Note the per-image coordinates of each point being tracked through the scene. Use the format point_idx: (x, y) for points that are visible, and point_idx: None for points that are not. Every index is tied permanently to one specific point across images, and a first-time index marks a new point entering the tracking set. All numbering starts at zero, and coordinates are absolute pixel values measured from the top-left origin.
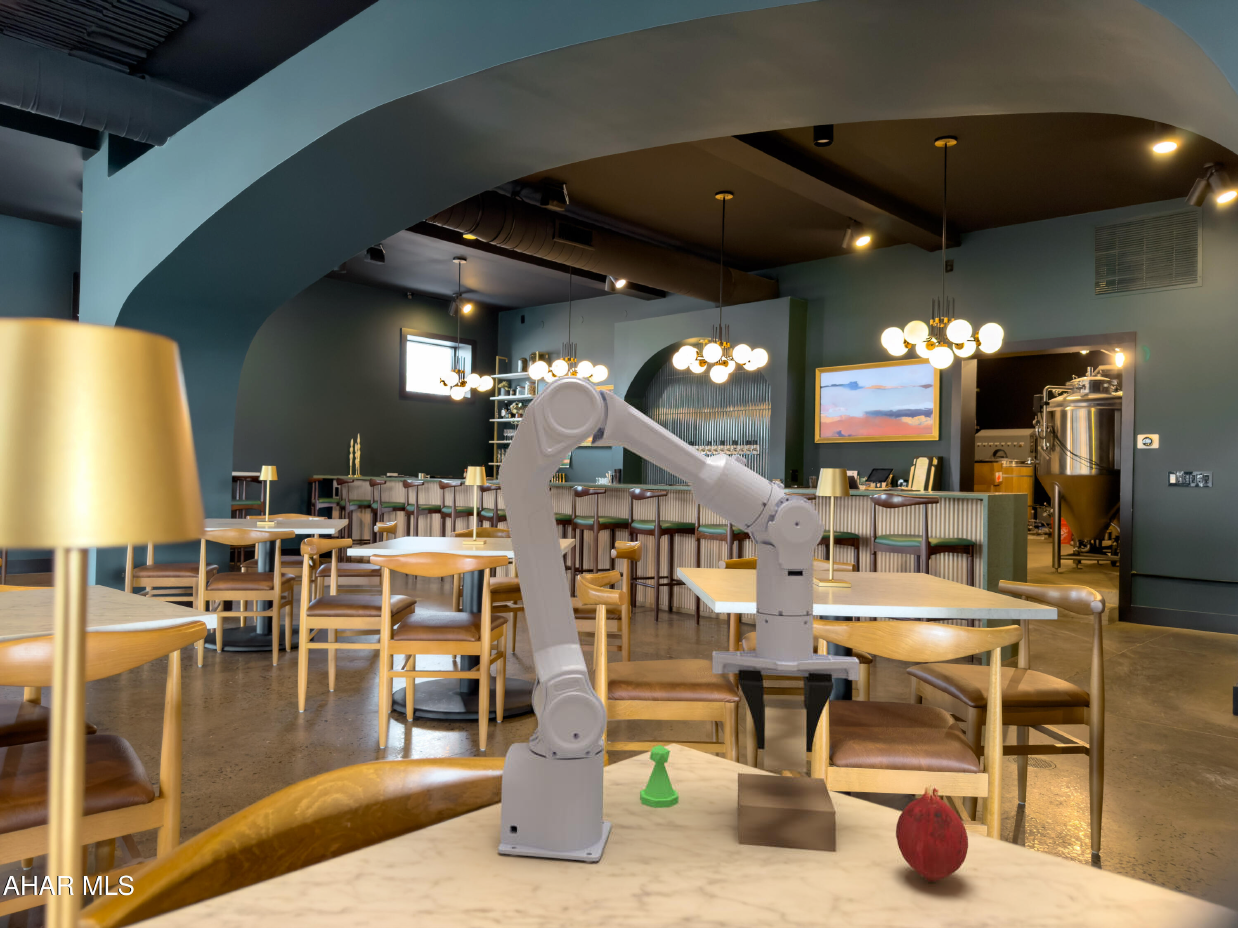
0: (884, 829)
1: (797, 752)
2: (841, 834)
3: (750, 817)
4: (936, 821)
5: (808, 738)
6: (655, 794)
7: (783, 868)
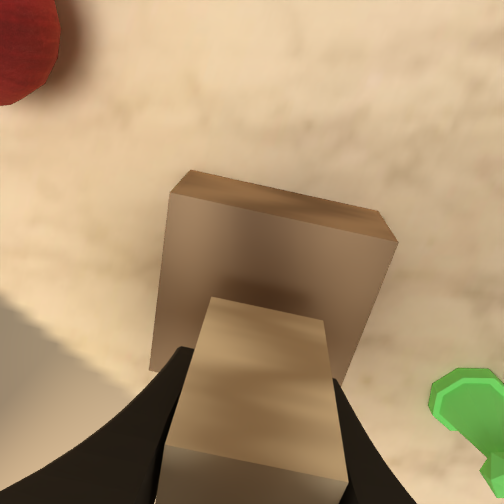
0: (70, 258)
1: (228, 332)
2: (158, 242)
3: (366, 225)
4: None
5: (180, 369)
6: (492, 391)
7: (323, 97)
